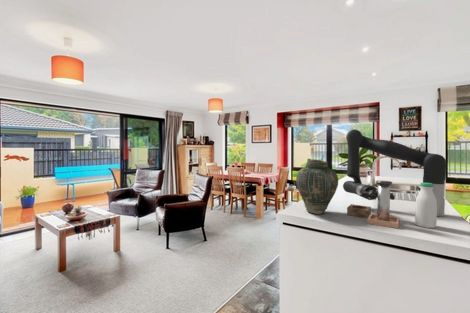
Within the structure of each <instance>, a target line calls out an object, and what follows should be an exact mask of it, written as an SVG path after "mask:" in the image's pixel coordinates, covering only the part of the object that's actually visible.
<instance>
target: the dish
mask: <svg viewBox="0 0 470 313" xmlns="http://www.w3.org/2000/svg"><path fill="white" fill-rule="evenodd" d="M366 219H367V221H366V222H367V223H366V224H369V225H375V226H380V225H381V227H385V226H386V227H387V228H391V227H392V229H398V230H399V225H400V217H398V216H391V215H390V218H389V222H388V221H382V220H377V213H372V212H371V214H370V216H369V217H368V218H366Z"/></svg>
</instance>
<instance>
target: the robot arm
mask: <svg viewBox="0 0 470 313" xmlns="http://www.w3.org/2000/svg"><path fill="white" fill-rule="evenodd" d="M345 138H346V141H347V143H346V144H347V165H346V166H347V167H346V176H347V177H349V178H351V179H353V181H352V180H346V181H344V183H343V184H342V188H343V190H344V191H345V192H346V193H350V194H354V195H357V196H359V197H361V198H363V199H366V200H369V201H376V200H377V199H378V188H377V187H376V186H373V185H370V184H367V183H366V184H364V183H362V179H361V176H360V169H361V168H360V167H361V166H360V165H361V162H360V161H361V159H360V149H365V150H369V151H371V152H374V153H376V154H379V155H382V156H384V157H388V158H391V159H395V160H399V161H404V162H410V163H413V164H416V165H419V166H421V167H423V176H422V183H432V184H433V189H432V191H433V194H434V196H435V198H436V201H437V217H441V218H442V217H443V218H444V217H445V206H446V199H445V192H446V190H445V187H446V185H445V184H446V177H447V160H446V158H445V157H444V156H443V155H441V154H438V153H430V152H424V151H421V150H417V149H414V148H411V147H410V146H407V145H404V144H402V143H399V142H395V141H391V140H387V139H378V138H377V139H376V138H371V137H367V136H365V135H363V134H362V132H361V131H360V130H358V129H350V130H349V131H348V132H347V133H346V137H345ZM395 198H396V197H395V195H394V193H393V192H390V201H391V200H392V201H395Z"/></svg>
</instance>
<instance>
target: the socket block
mask: <svg viewBox="0 0 470 313" xmlns="http://www.w3.org/2000/svg"><path fill="white" fill-rule="evenodd" d="M371 213H372V206H366V205H360V204H353V203H351V204H350V205H348V206H347V208H346V215H347V216H353V217H358V218H365V219H368V217H369V216H370V214H371Z"/></svg>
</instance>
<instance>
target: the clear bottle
mask: <svg viewBox="0 0 470 313" xmlns="http://www.w3.org/2000/svg"><path fill="white" fill-rule="evenodd" d="M375 183H376V184H377V190H378V198H377V212H376V214H377V220H382V221H388V222H389V218H390V216H391V215H390V212H391V209H390V208H391V199H390V193H391V186H392V185H393V181H391V180H376V182H375Z"/></svg>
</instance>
